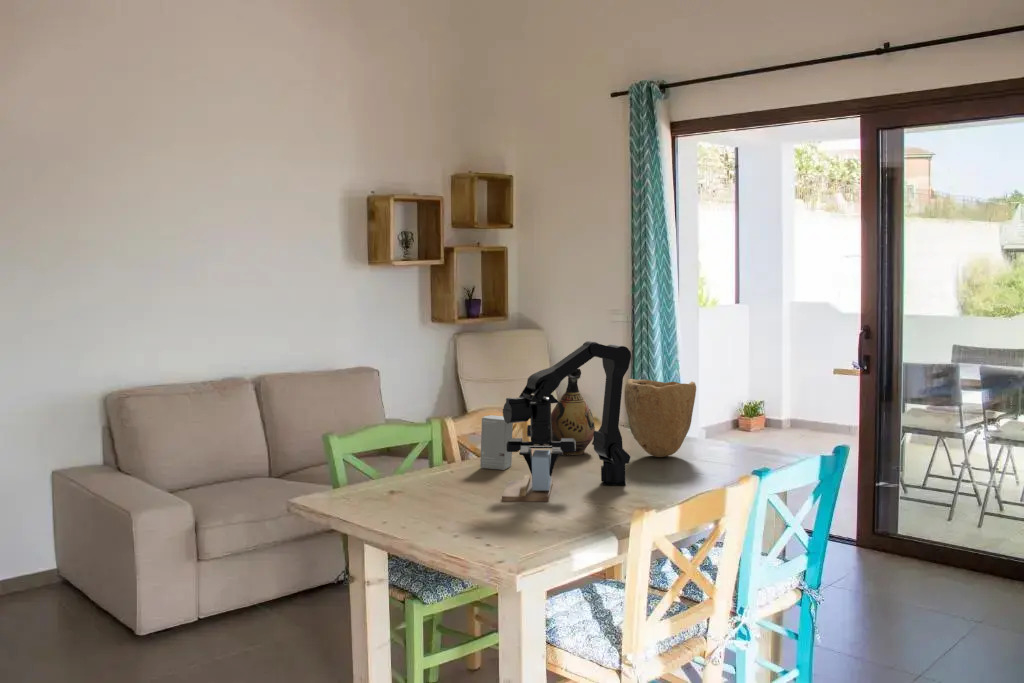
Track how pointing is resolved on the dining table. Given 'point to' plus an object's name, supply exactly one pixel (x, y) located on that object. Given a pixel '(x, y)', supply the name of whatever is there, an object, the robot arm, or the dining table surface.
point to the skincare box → (495, 443)
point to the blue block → (541, 470)
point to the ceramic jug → (573, 417)
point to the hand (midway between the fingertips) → (541, 475)
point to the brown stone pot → (659, 414)
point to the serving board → (524, 491)
